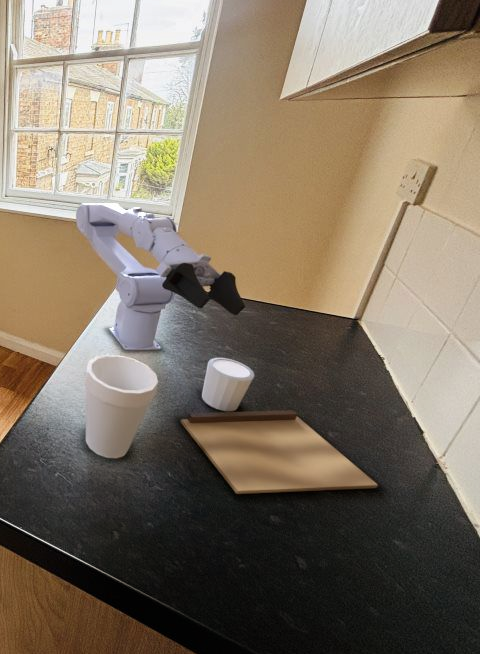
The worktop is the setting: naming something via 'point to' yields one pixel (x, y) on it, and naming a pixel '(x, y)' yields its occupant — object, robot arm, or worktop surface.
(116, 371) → the foam cup
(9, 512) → the worktop surface
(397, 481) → the worktop surface
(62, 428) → the worktop surface
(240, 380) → the white faceted cup
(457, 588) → the worktop surface
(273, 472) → the board
